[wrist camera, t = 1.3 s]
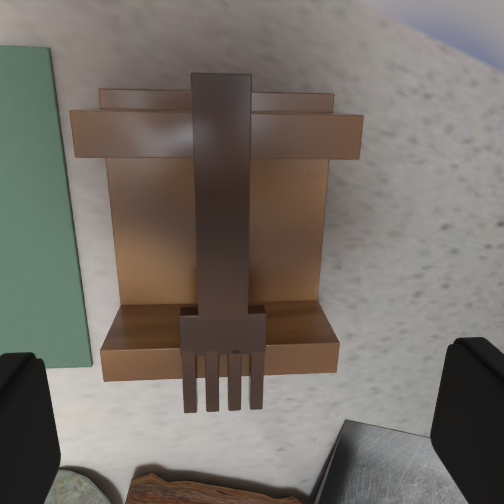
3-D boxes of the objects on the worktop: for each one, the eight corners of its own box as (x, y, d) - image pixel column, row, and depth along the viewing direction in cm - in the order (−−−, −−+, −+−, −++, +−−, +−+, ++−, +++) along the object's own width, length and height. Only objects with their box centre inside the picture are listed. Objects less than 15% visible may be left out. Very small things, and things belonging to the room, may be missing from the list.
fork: (169, 74, 17) (164, 72, 16) (271, 76, 18) (277, 74, 16) (184, 401, 23) (182, 421, 22) (261, 397, 24) (264, 417, 22)
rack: (101, 89, 23) (65, 84, 17) (330, 93, 24) (366, 91, 18) (126, 338, 28) (105, 397, 23) (312, 332, 29) (335, 387, 24)
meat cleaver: (540, 460, 36) (578, 502, 32) (479, 549, 39) (506, 596, 36) (161, 378, 30) (153, 417, 26) (127, 490, 33) (115, 540, 30)
